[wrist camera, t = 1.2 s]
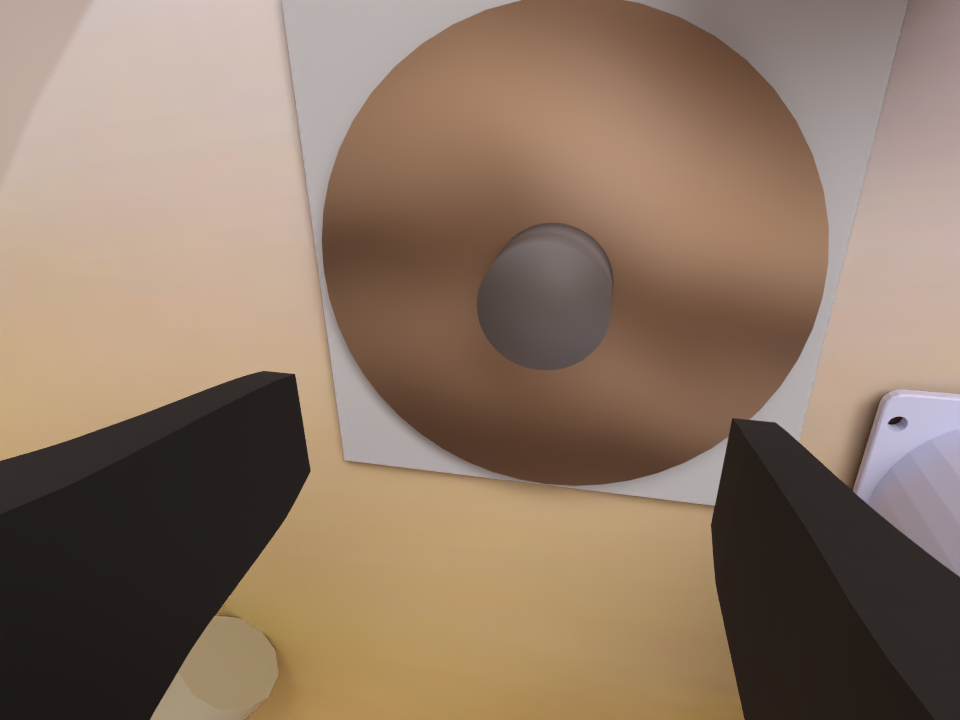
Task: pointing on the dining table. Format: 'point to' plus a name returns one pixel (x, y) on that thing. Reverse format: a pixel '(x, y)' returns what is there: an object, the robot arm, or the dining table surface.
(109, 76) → the dining table surface
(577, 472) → the walnut lid
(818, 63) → the grey mat
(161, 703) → the flower vase
